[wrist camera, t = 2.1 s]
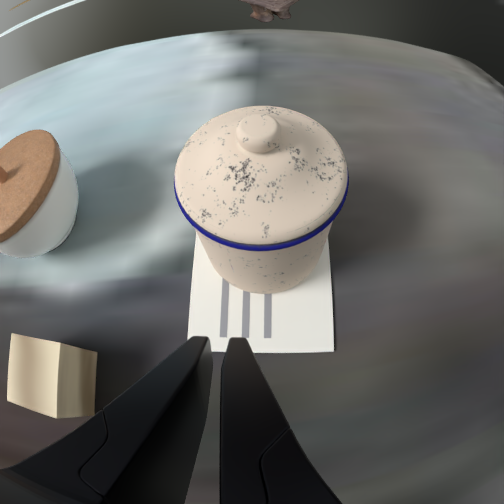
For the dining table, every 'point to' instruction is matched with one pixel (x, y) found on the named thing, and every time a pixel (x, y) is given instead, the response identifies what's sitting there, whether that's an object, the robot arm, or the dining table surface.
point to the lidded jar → (35, 195)
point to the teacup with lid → (262, 194)
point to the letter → (262, 310)
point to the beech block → (51, 377)
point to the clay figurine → (270, 9)
